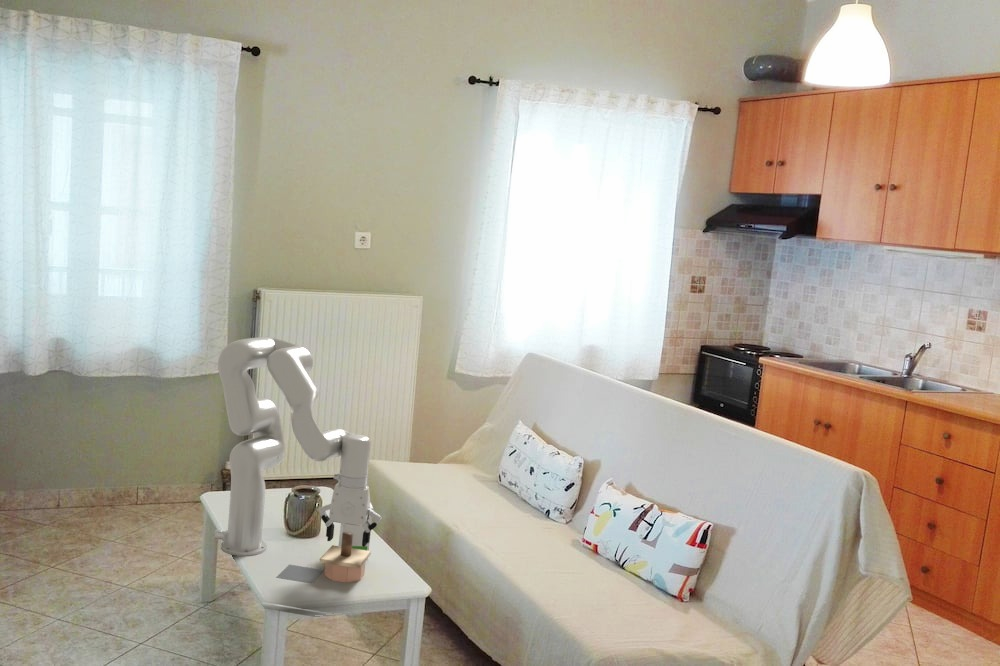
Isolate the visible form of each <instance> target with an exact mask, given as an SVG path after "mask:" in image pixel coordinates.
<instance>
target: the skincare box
mask: <svg viewBox="0 0 1000 666" xmlns="http://www.w3.org/2000/svg"><path fill="white" fill-rule="evenodd" d="M370 509H372V510H373V511H374V507H373V505H372V502H371V501H370ZM368 521H369V523H370V524H372V523H373V517H371V516H370V515H369V519H368ZM364 531H365V530H364V528H363V527H362V526H357V525H350V524H343V523H340V529H339V539H338V545H337V546H341V545H342V534H343V532H352V533H353V539H352V548H354V549H360V550H367V551H370V550H369V549H370V542H371V541H369V543H367V544H366V546H365V547H363V546H362V539H363V532H364ZM371 531H372V530H371ZM371 531H370V535H371Z"/></svg>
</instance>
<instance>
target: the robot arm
mask: <svg viewBox="0 0 1000 666" xmlns="http://www.w3.org/2000/svg"><path fill="white" fill-rule="evenodd" d="M313 364H314V360H313V356H312V354H311V352H310V351H309V350H308V349H306V348H305V347H303V346H301V345H298V344H296V343H292V342H289V341H286V340H285V341H284V340H281V339H279V338H275V337H271V336H260V337H258V336H257V337H250V338H249V337H248V338H243V339H242V338H241V339H237V340H235V341H232V342H230V343H228V344H227V345H225V347H224V348H223V349H222V350H221V352H220V354H219V356H218V361H217V370H218V374H219V378H220V382H221V385H222V390H223V395H224V401H225V408H226V413H227V419H228V425H229V428H230V430H231V431H232V433H233V434H235V435H237V436H248V435H249V436H250V435H252V434H253V437H252V438H249V439H246V440H243V441H241V442H239V443H237V444H236V445H235V446H234V447H233V448H232V449H231V451H230V453H229V469H230V493H229V497H230V498H229V508H228V523H227V529H226V530H222V529H215V530H214V532H213V535H214V536H213V537H214V539H215V540H222V542H221V543H220V550H221V551H222V552H223V553H225V554H228V555H230V556H235V557H237V556H240V557H242V556H243V557H247V556H249V557H250V556H256V555H261V554H262V553H265V552H266V551H267V549H268V548H267V546H268V545H267V543H266V542H265V541H264V540H262V539H263V526H264V515H265V513H264V512H265V501H266V500H265V499H266V482H265V479H264V476H263V472H264V471H266V470H269V469H272V468H274V467H277V466H279V464H281V463H282V462H283V460H284V458H285V455H286V454H285V453H286V444H285V438H284V433H283V427H282V420H281V415H280V412H279V409H278V407H277V406H276V404H275V403H274V402H273V401H272V400H270V399H269V398H267V397H257V394H256V387H255V383H254V381H253V379H252V377H251V375H250V374H249V373H248V371H249V370H251V369H252V370H253V369H258V368H263V367H266V368H267V369H268V371H269V373H270V375H271V377H272V379H273V380H274V382H275V383H276V385H277V387H278V388H279V390H280V393H282V395H283V396H284V398H285V400H286V401H287V404H288V405H289V407H290V410H291V411H290V420H291V427H292V431H293V434H294V437H295V439H296V440H297V442H298V443H299V445H300V447H301V449H302V450H303V452H304V453H305V455H307V457H308V458H309V459H311V460H312V461H315V462H318V463H321V462H324V461H325V462H326V461H328V460H331V459H334V458H338V457H340V464H339V473H334V474H333V480H336V481H337V483H336V484H335V485H334V487H333V488H334V489H333V492H332V496H331V501H330V502H331V503H328V504H326V505H323V506H321V507H319V508H318V513H319V516H320V518H321V520H322V522H323V523H324V525H325V527H326V532H325V537H327V542H331V541H332V540H333V539H334V535H335V534H334V532H335V524H334V523H339V524H341V523H343V524H350V525H357V526H362V527H363V528H364V530H365V531H364V532H363V539H362V546H363V547H365V546H366V544H367V543H369V541H370V540H371V534H370V531H372V530H373V529H374V528H376V527H377V526H378V525H379V523H380V521H381V520H382V518H383V517H382V516H381V515H380V514H379V513H377V512H376V511H375V510H374V509H373V510H372V509H370V502H371V496H370V487H369V485H368V477H369V476H368V474H369V464H370V456H371V455H370V454H371V446H372V445H371V443H372V442H371V439H370V438H369V437H368V436H366V435H363V434H358V433H352V432H349V431H347V430H344V429H342V428H335V427H334V428H331V429H329V430H325V431H321V429H320V427H319V426H318V424H317V422H316V420H315V418H314V414H313V410H314V409H313V407H314V404H315V402H316V400H317V399H318V396H319V390H318V388H317V386H316V385H315V383H314V381H312V379H311V377H310V376H309V373H310V372H311V370H312V369H313V366H314V365H313ZM326 511H329V516H328V515H327V512H326ZM369 515H370V516H371V517H372V519H374V521H372V524H370V523H369V521H368V519H369ZM370 542H371V541H370ZM369 544H370V543H369Z"/></svg>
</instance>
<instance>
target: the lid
mask: <svg viewBox="0 0 1000 666" xmlns="http://www.w3.org/2000/svg"><path fill="white" fill-rule="evenodd" d="M352 539H353V533H352V532H343V534H342V545H341V546H338V545H335V544H333V545H331V546H330V547H329V548H328V549H327V550H326V551H325V552H324V554H323V555H321V557H320V558H319V563H322V564H325V563H328V564H334V565H341V566H347V567H354V568H360V567H361V566H362V565H363V563H364V562H365V561H368V560H369V558H370V557H371V554H372V551H371V550H369V551H367V550H360V549H354V548H352ZM365 563H366V562H365Z"/></svg>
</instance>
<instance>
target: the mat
mask: <svg viewBox="0 0 1000 666" xmlns="http://www.w3.org/2000/svg"><path fill="white" fill-rule="evenodd" d="M323 572H325V569H322V568H314V567H307V566H301V565H294V564H288V565H287V566H286V567H285V568H284V569H283V570H282V571H281V572H280V573H279V574H277V576H275V578H277V579H283V580H288V581H295V582H299V583H300V582H301V583H308V584H314V582H315V581H316V580H317V579H318V578H319V577H320V575H322V573H323Z"/></svg>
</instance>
